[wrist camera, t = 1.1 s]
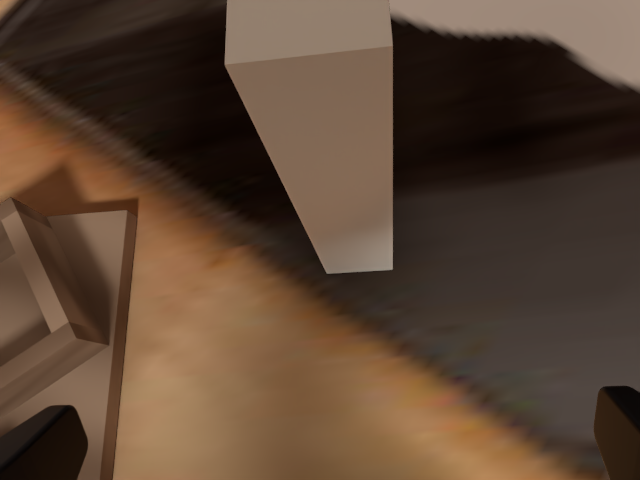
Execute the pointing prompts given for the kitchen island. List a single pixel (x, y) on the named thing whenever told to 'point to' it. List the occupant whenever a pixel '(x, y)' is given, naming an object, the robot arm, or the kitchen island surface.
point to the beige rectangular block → (323, 116)
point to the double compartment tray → (65, 320)
